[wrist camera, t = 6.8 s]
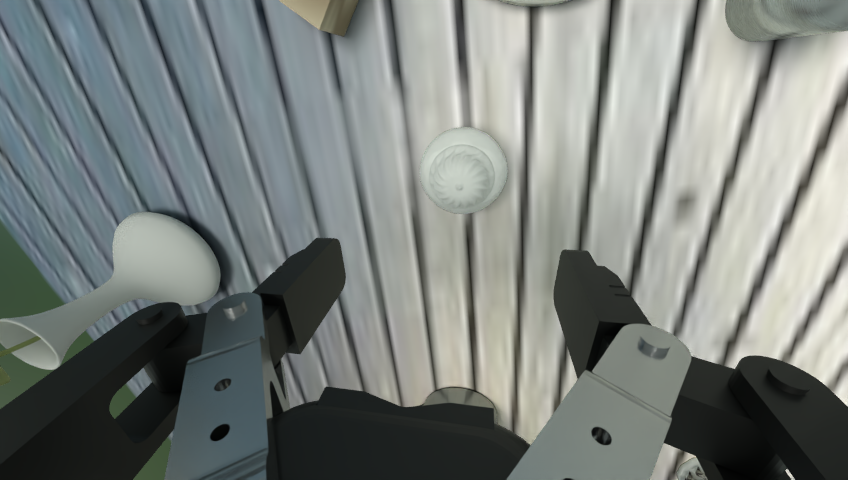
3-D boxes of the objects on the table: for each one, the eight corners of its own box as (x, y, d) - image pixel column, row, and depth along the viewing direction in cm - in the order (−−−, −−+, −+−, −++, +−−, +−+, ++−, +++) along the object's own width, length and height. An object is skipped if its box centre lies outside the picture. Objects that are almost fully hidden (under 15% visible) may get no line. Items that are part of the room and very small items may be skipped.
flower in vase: (229, 227, 32) (-300, 543, 10) (231, 306, 38) (-113, 622, 16) (110, 185, 32) (-664, 413, 10) (130, 271, 38) (-351, 537, 16)
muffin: (430, 198, 27) (414, 233, 21) (424, 123, 24) (404, 139, 18) (503, 196, 26) (509, 233, 20) (505, 117, 23) (513, 132, 17)
